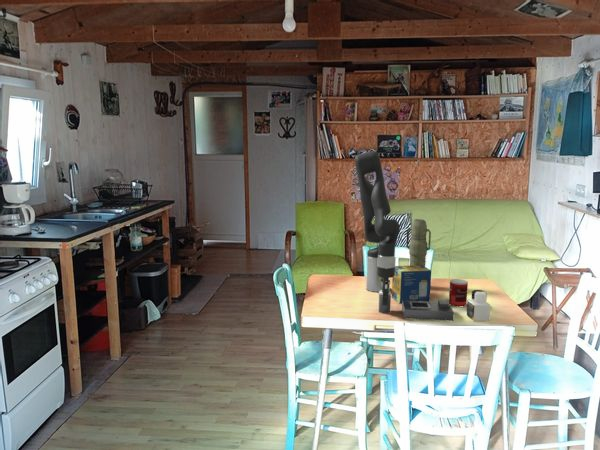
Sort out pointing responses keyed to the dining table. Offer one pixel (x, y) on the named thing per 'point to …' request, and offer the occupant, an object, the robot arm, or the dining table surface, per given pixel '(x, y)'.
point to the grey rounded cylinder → (384, 308)
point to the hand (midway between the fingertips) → (384, 303)
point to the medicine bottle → (478, 306)
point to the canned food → (458, 292)
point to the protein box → (411, 283)
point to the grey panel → (427, 310)
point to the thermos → (418, 242)
